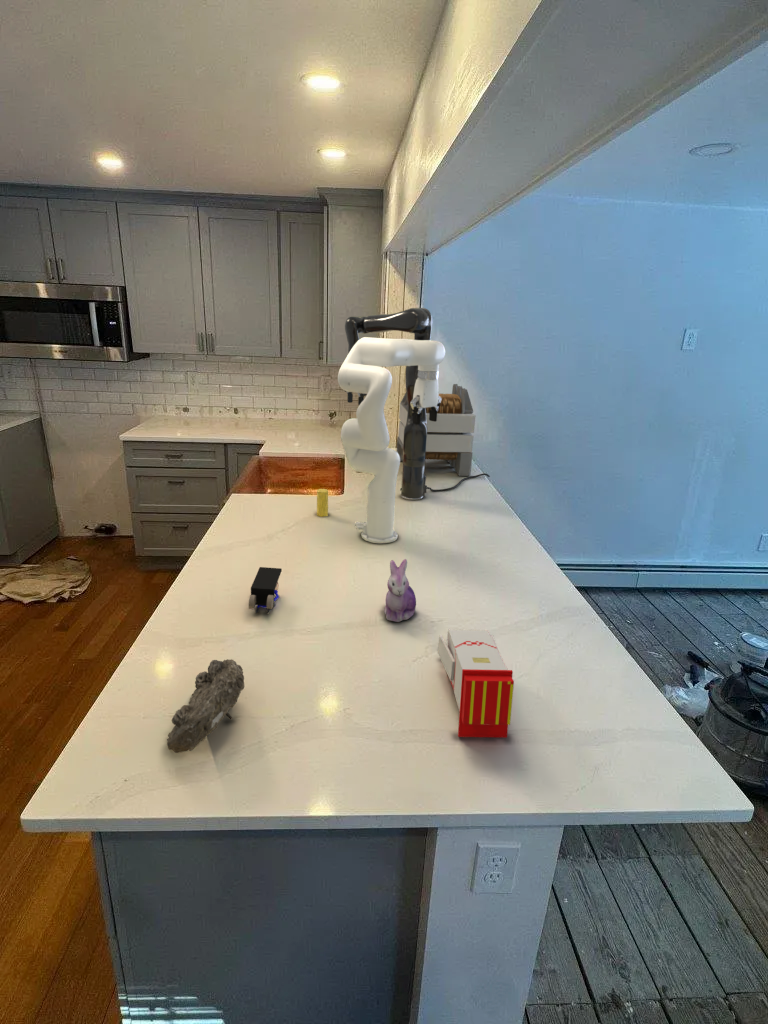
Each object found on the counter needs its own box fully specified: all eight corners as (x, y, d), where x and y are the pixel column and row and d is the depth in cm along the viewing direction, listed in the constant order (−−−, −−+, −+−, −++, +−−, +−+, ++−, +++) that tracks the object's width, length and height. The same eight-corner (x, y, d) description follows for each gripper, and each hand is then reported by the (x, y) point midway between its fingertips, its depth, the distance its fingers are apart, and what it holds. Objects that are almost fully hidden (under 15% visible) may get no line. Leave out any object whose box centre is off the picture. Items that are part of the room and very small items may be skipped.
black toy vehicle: (274, 622, 143) (283, 588, 157) (273, 597, 140) (282, 565, 153) (248, 621, 143) (258, 588, 157) (246, 596, 140) (257, 564, 153)
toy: (488, 613, 130) (523, 677, 101) (484, 667, 133) (517, 744, 104) (435, 612, 130) (455, 676, 101) (432, 666, 133) (451, 743, 103)
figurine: (392, 627, 141) (395, 572, 136) (374, 608, 149) (376, 556, 144) (425, 619, 145) (429, 566, 140) (405, 601, 154) (408, 550, 149)
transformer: (395, 457, 301) (399, 379, 287) (455, 458, 305) (462, 381, 291) (404, 475, 269) (409, 388, 255) (471, 476, 273) (479, 391, 259)
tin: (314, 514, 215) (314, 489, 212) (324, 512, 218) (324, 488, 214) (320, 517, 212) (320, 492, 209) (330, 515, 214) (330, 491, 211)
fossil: (192, 660, 117) (244, 628, 112) (224, 691, 120) (276, 661, 115) (142, 746, 98) (202, 712, 93) (182, 779, 101) (242, 748, 96)
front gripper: (434, 373, 214) (431, 418, 220) (404, 375, 202) (402, 423, 208) (450, 375, 210) (446, 421, 216) (421, 378, 198) (418, 426, 203)
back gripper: (372, 367, 239) (371, 405, 244) (354, 363, 250) (353, 401, 255) (358, 367, 235) (357, 407, 240) (339, 364, 245) (339, 401, 251)
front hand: (424, 422), depth 212 cm, fingers open, 9 cm apart
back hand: (355, 403), depth 248 cm, fingers open, 8 cm apart
